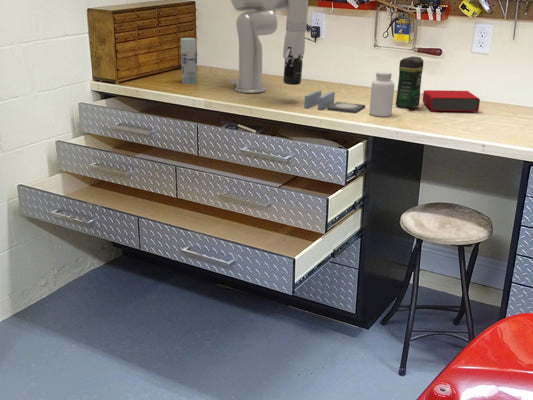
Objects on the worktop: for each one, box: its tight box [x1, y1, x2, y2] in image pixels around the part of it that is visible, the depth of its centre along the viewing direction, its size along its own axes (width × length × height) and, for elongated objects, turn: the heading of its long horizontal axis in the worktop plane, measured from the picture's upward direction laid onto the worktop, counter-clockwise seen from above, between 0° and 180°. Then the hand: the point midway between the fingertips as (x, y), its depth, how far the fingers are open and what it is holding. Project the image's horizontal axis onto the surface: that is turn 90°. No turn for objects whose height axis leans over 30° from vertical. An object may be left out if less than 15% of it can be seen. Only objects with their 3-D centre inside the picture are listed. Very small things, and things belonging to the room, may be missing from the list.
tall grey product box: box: [180, 37, 198, 85], centre depth 273 cm, size 6×6×20 cm
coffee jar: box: [395, 56, 424, 109], centre depth 239 cm, size 10×8×19 cm
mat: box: [326, 101, 366, 114], centre depth 236 cm, size 11×11×1 cm
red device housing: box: [422, 89, 481, 112], centre depth 243 cm, size 18×14×5 cm
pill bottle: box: [369, 71, 395, 118], centre depth 226 cm, size 8×8×15 cm
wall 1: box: [303, 89, 322, 109], centre depth 241 cm, size 2×13×4 cm, turn 153°
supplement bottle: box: [283, 55, 303, 86], centre depth 241 cm, size 7×7×12 cm
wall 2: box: [317, 91, 336, 111], centre depth 239 cm, size 2×13×4 cm, turn 153°
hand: (293, 74), depth 242 cm, fingers closed on supplement bottle, 6 cm apart
